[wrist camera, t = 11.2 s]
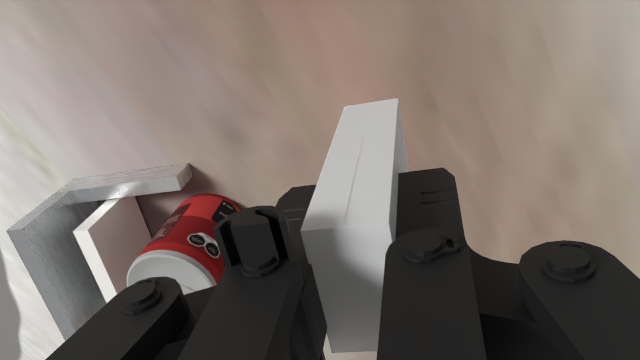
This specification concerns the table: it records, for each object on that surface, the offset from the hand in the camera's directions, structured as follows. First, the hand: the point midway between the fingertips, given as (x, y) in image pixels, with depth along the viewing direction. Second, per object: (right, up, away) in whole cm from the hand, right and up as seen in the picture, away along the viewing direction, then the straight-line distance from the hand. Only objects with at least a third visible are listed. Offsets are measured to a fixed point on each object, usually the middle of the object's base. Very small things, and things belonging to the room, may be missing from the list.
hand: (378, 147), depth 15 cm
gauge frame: (-19, -6, +40) cm, 44 cm away
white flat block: (-20, -8, +40) cm, 46 cm away
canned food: (-12, -5, +38) cm, 41 cm away
